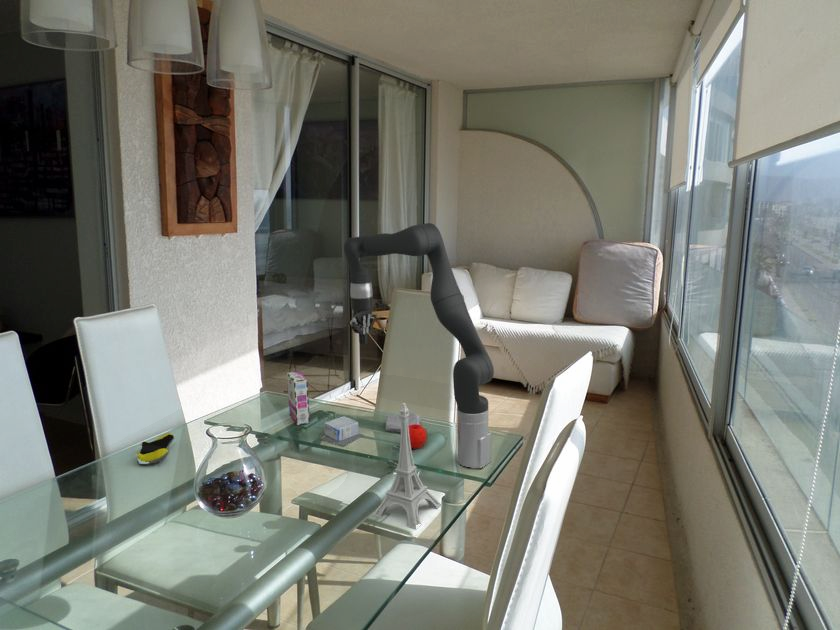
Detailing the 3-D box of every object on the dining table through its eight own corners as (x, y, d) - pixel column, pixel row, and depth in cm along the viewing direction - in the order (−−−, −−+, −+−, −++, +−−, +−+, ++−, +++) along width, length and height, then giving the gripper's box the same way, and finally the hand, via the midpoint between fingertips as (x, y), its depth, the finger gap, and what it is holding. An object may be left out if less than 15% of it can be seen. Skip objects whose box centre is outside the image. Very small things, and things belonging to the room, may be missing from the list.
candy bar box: (311, 423, 229) (307, 379, 225) (296, 426, 227) (293, 381, 223) (302, 412, 239) (299, 370, 235) (289, 415, 237) (285, 372, 233)
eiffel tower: (372, 516, 169) (366, 408, 162) (399, 493, 180) (395, 391, 173) (416, 530, 163) (412, 417, 155) (442, 505, 174) (439, 399, 167)
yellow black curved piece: (176, 446, 214) (144, 449, 212) (174, 430, 213) (141, 434, 211) (169, 466, 200) (134, 470, 198) (166, 450, 198) (131, 454, 196)
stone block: (420, 438, 219) (421, 421, 228) (419, 426, 217) (420, 410, 226) (385, 440, 220) (387, 422, 229) (383, 428, 218) (386, 411, 227)
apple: (410, 439, 214) (409, 418, 212) (431, 444, 210) (431, 422, 208) (398, 449, 207) (397, 427, 205) (420, 454, 203) (419, 432, 202)
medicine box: (345, 427, 224) (324, 435, 218) (344, 415, 223) (323, 422, 217) (359, 434, 218) (338, 442, 213) (358, 421, 217) (337, 429, 212)
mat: (363, 435, 218) (363, 434, 218) (343, 446, 210) (343, 445, 210) (341, 429, 224) (341, 428, 223) (320, 439, 216) (320, 438, 216)
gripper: (357, 300, 216) (359, 350, 220) (382, 292, 226) (384, 340, 230) (340, 297, 220) (342, 347, 224) (365, 290, 230) (367, 337, 235)
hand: (363, 343), depth 227 cm, fingers closed
